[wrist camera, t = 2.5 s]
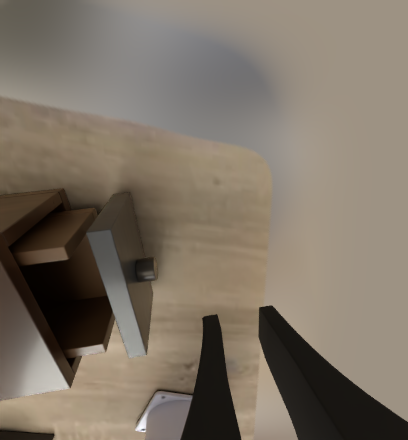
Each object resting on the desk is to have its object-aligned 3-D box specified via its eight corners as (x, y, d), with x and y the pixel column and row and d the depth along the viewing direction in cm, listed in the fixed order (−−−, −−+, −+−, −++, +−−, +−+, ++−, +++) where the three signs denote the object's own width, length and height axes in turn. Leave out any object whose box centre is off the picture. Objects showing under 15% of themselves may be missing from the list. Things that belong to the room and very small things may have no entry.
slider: (147, 190, 17) (135, 226, 11) (167, 291, 21) (165, 352, 15) (-28, 210, 16) (-128, 259, 10) (28, 312, 20) (-24, 384, 14)
